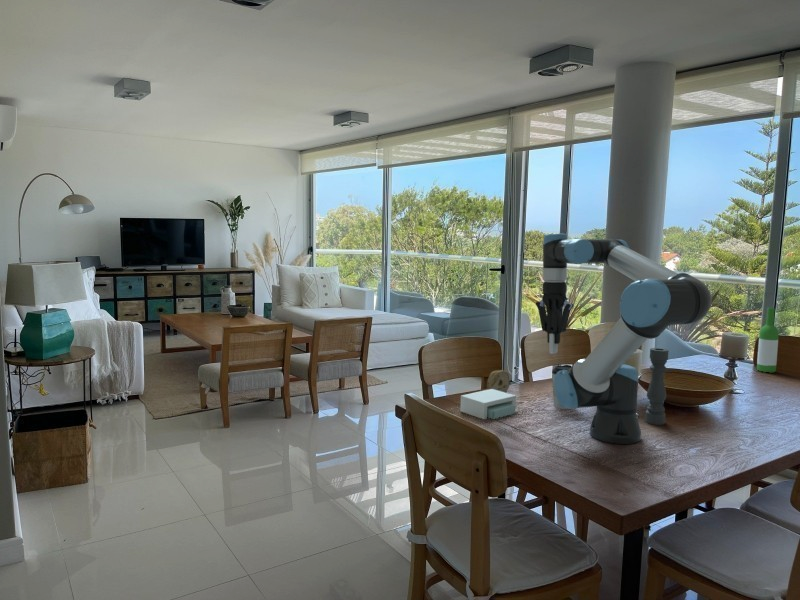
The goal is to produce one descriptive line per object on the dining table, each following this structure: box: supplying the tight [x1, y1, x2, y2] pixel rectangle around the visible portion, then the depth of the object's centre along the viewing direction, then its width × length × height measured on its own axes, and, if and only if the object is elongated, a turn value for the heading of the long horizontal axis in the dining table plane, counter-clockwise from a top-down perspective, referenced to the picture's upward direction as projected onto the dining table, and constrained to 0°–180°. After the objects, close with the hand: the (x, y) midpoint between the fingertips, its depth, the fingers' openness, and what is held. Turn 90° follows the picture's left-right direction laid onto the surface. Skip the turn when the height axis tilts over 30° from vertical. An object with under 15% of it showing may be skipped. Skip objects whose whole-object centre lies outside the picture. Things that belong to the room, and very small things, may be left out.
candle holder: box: [644, 347, 669, 426], centre depth 202 cm, size 6×6×25 cm
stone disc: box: [486, 369, 511, 393], centre depth 234 cm, size 10×4×10 cm, turn 125°
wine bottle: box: [756, 307, 780, 374], centre depth 280 cm, size 8×8×30 cm
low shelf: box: [460, 389, 517, 420], centre depth 213 cm, size 12×16×6 cm
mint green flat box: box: [487, 402, 516, 420], centre depth 211 cm, size 10×11×3 cm
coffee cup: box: [551, 364, 573, 410], centre depth 219 cm, size 9×9×15 cm
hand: (553, 353), depth 196 cm, fingers closed
